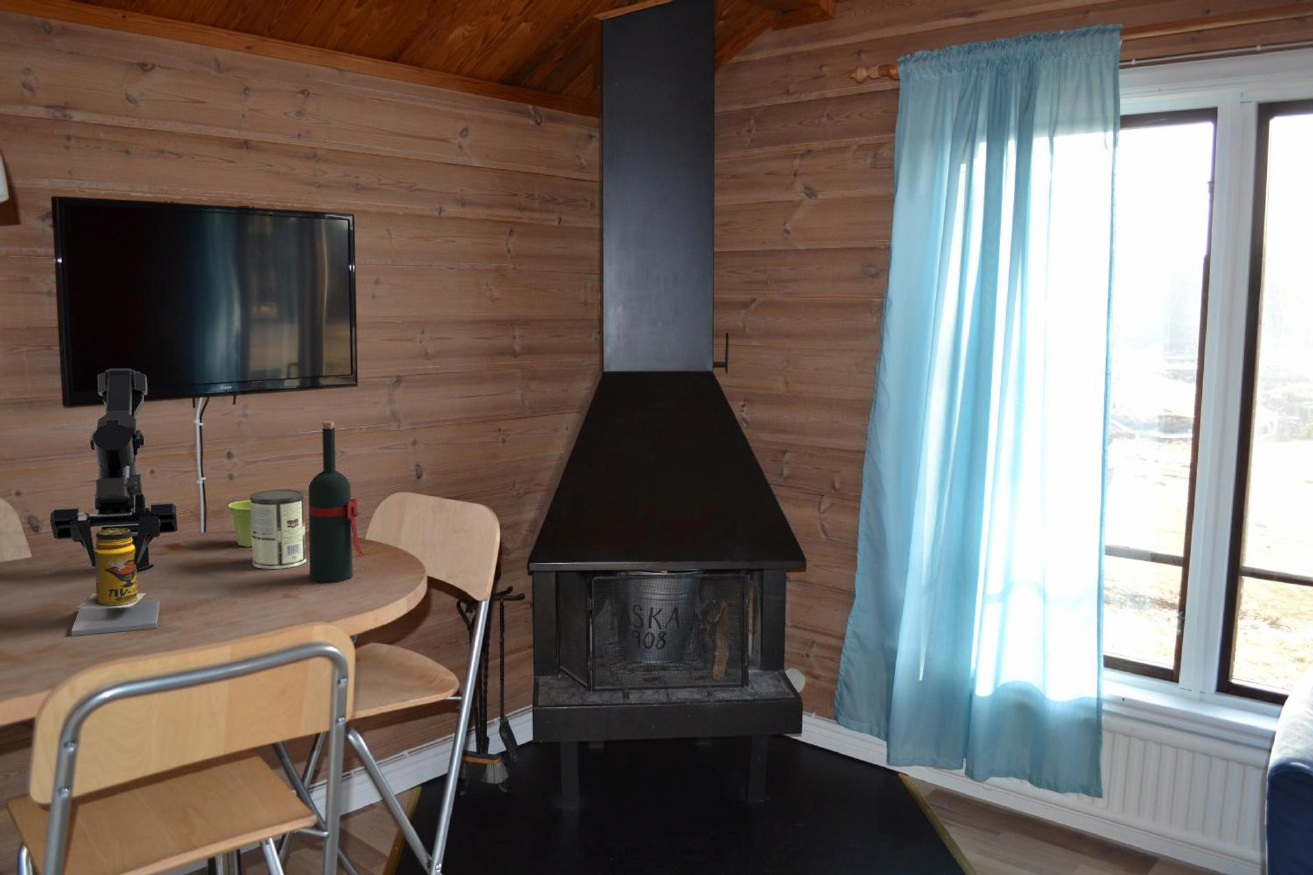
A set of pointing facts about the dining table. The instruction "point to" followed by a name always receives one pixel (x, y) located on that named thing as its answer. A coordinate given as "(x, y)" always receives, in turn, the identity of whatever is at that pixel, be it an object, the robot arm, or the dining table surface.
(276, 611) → the dining table surface
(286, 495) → the coffee can
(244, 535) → the plant pot
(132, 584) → the condiment
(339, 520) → the wine bottle
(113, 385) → the robot arm
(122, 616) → the board
